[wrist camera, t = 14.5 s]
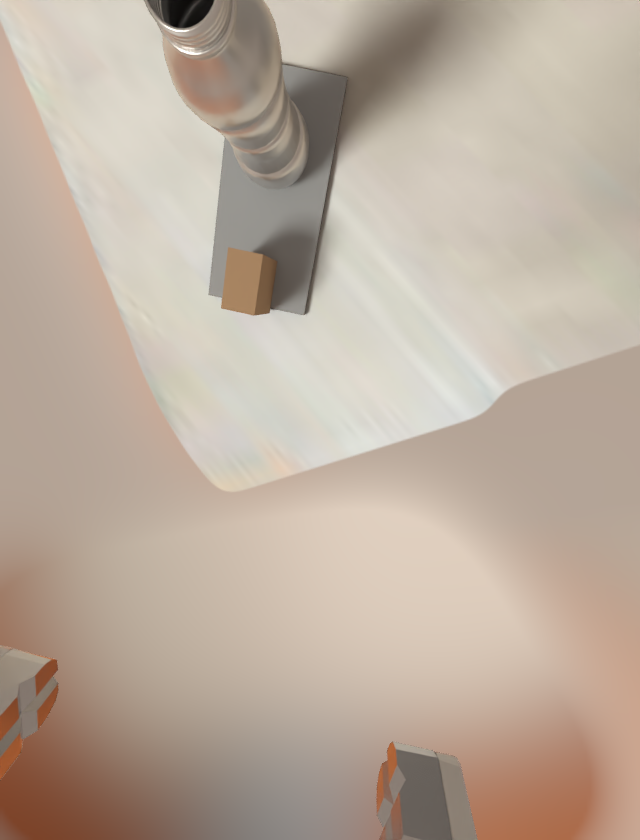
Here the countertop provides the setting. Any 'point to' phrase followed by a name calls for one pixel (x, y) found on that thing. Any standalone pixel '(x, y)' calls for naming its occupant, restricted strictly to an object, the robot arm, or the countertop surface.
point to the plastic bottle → (236, 82)
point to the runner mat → (277, 211)
